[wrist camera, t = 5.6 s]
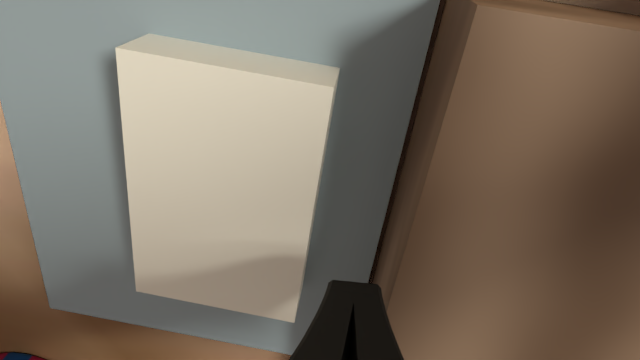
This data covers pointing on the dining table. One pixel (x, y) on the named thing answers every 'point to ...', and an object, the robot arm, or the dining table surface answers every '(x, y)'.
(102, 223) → the mat
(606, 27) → the brown flat block
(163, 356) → the dining table surface
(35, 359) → the mug
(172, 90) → the cream rectangular block
